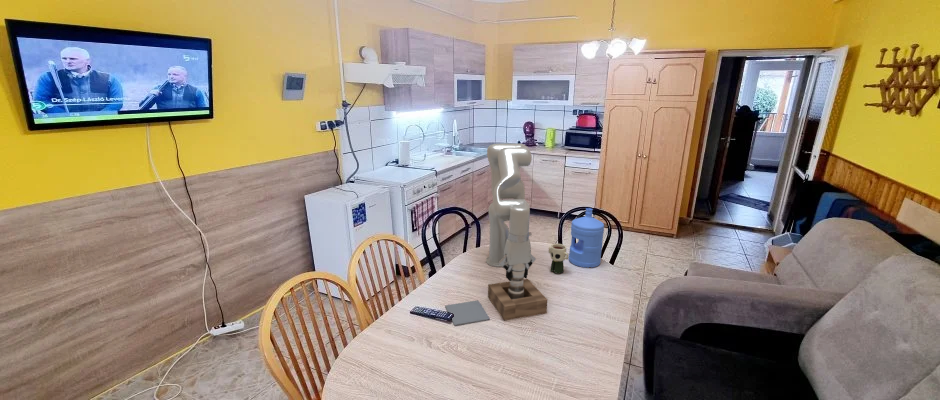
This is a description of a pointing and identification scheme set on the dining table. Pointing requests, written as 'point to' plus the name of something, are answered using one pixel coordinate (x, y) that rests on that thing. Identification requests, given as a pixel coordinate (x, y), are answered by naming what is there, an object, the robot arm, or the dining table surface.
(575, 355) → the dining table surface
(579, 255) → the water jug
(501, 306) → the bore block
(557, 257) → the character mug
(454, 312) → the pad
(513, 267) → the plastic bottle
